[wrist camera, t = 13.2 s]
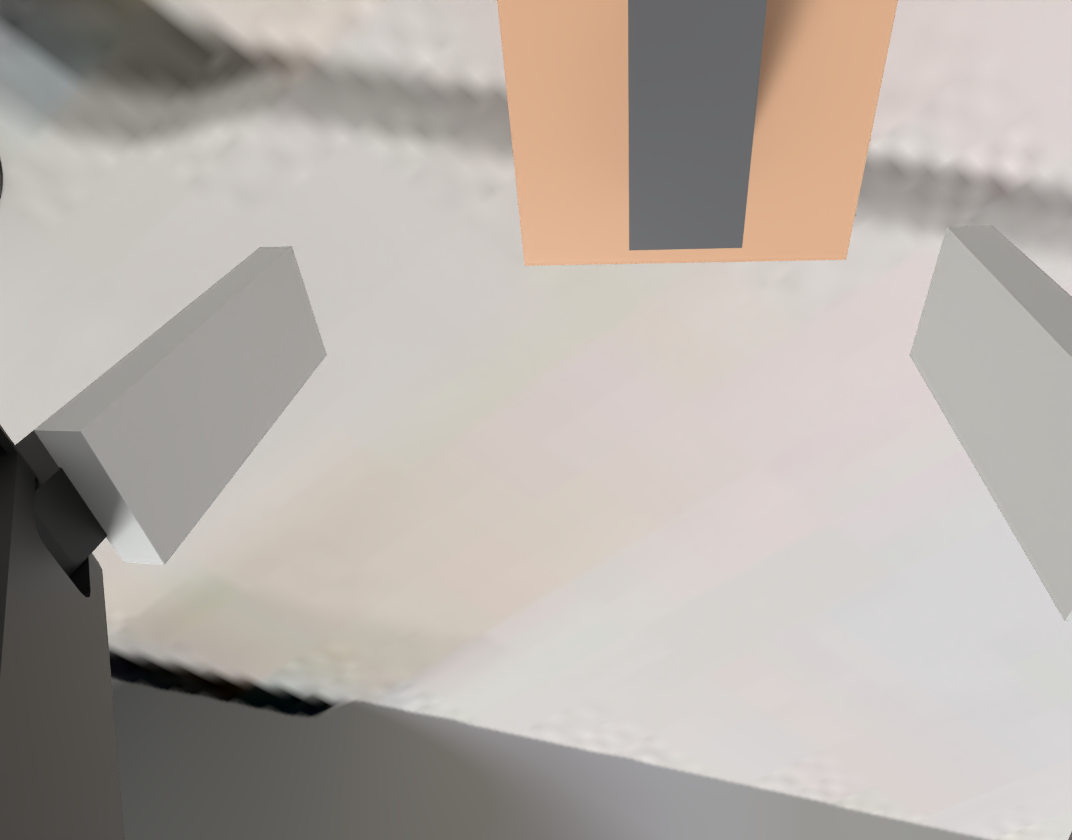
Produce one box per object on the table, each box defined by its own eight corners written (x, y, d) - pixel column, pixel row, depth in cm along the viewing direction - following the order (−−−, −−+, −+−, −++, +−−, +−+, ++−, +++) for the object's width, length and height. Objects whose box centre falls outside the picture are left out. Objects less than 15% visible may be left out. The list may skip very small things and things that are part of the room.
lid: (528, 257, 33) (495, 334, 27) (490, -121, 25) (429, -138, 18) (841, 251, 31) (886, 334, 24) (924, -177, 22) (1028, -219, 16)
